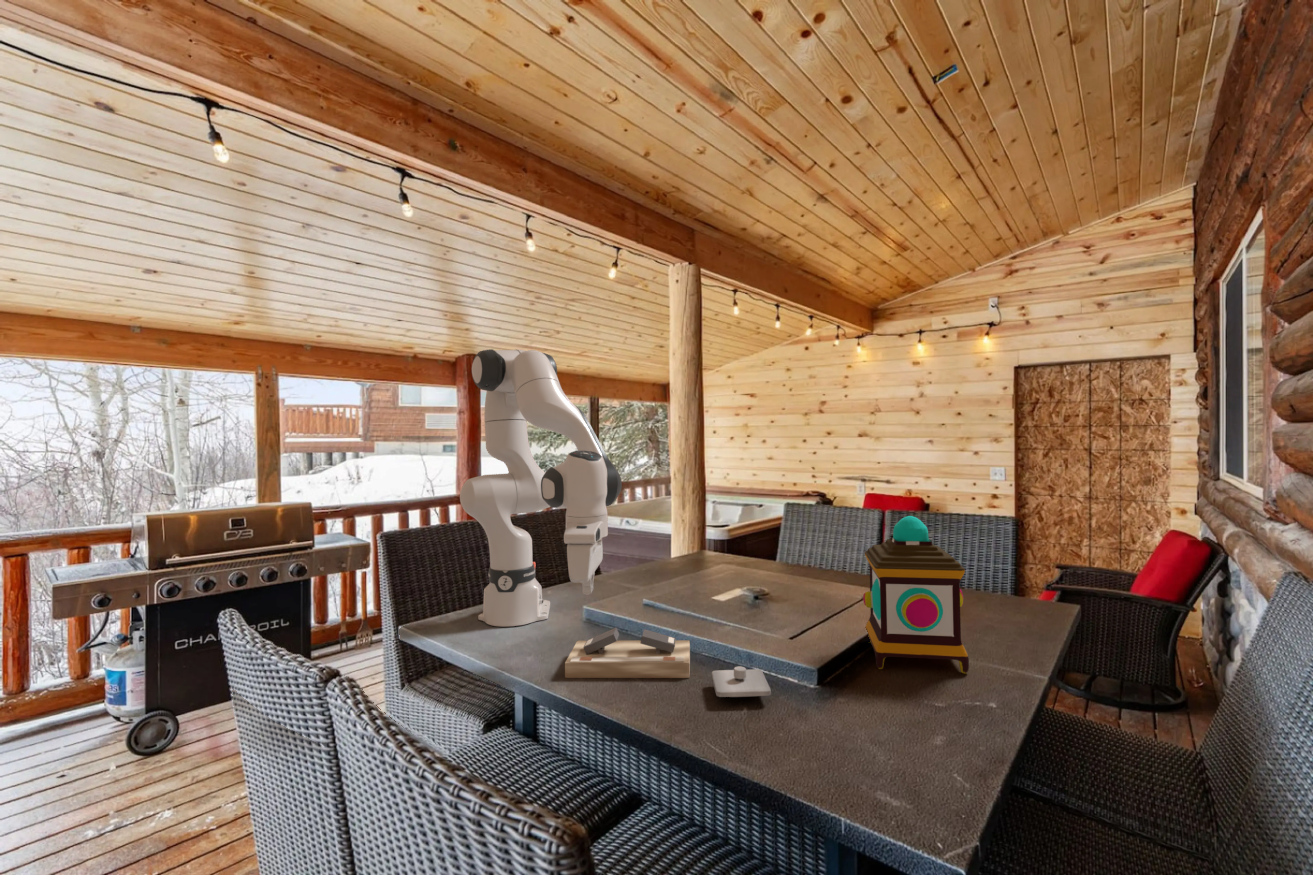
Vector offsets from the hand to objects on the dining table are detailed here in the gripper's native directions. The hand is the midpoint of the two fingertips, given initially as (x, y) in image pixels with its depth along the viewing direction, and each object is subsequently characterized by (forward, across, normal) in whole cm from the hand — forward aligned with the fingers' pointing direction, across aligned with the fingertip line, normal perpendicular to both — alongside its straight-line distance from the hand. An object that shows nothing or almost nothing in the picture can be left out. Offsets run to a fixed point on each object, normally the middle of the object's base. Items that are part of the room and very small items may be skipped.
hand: (588, 592), depth 128 cm
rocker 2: (+10, 0, +15) cm, 18 cm away
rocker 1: (+10, 0, +3) cm, 10 cm away
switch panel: (+15, 0, +9) cm, 18 cm away
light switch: (+15, +14, +31) cm, 37 cm away
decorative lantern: (+15, -5, +69) cm, 71 cm away
